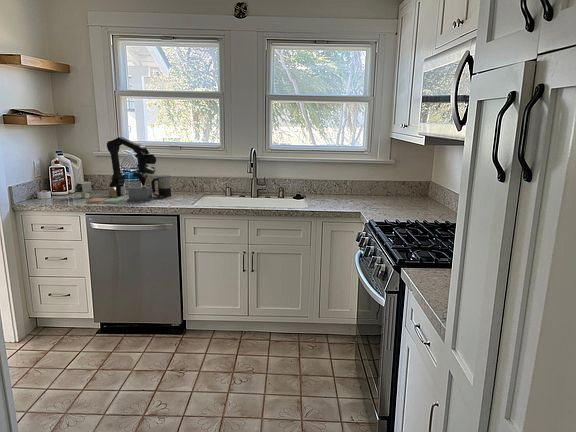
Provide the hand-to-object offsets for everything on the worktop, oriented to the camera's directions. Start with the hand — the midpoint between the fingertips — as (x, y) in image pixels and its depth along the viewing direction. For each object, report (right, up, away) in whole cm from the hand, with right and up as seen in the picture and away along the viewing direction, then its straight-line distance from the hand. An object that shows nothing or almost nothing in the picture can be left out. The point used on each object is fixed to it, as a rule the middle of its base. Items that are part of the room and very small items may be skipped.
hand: (143, 185), depth 304 cm
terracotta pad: (-28, -12, -12) cm, 32 cm away
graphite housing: (0, -11, -6) cm, 12 cm away
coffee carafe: (+12, -8, +6) cm, 16 cm away
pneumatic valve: (-42, -9, +2) cm, 43 cm away
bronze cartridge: (-21, -9, -1) cm, 23 cm away
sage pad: (-16, -12, -13) cm, 24 cm away
